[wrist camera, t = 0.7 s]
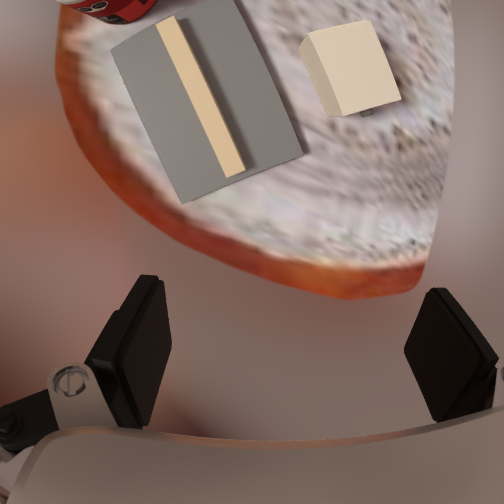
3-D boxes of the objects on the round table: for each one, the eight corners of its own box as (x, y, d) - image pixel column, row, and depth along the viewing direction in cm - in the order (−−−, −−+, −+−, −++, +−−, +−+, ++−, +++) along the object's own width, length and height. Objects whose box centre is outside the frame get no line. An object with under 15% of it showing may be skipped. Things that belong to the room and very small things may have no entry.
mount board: (229, -5, 24) (226, -16, 21) (301, 153, 31) (306, 157, 28) (115, 51, 26) (102, 47, 23) (184, 200, 34) (178, 209, 31)
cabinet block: (347, 35, 25) (369, 19, 19) (376, 107, 29) (404, 107, 22) (297, 49, 26) (307, 33, 20) (328, 122, 30) (346, 125, 24)
